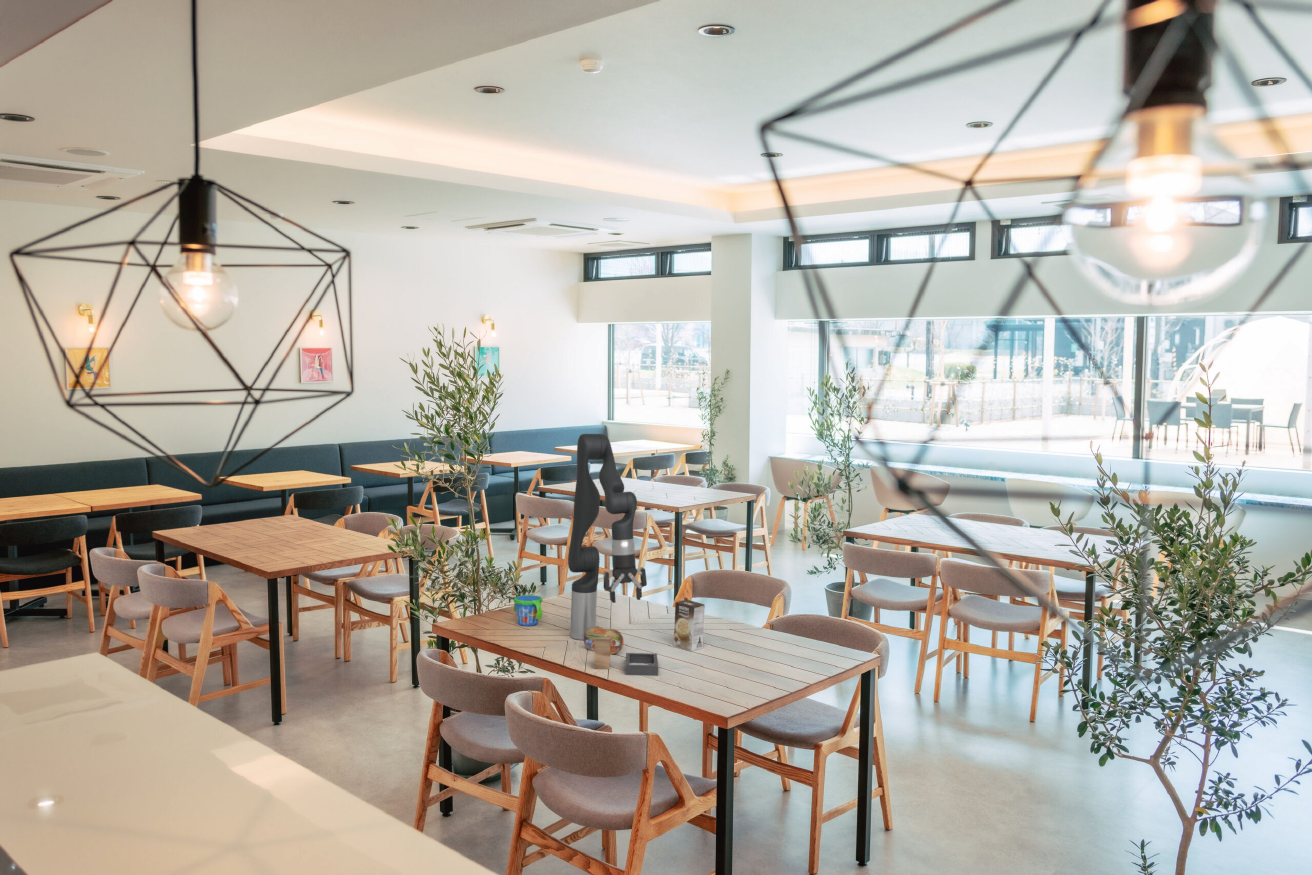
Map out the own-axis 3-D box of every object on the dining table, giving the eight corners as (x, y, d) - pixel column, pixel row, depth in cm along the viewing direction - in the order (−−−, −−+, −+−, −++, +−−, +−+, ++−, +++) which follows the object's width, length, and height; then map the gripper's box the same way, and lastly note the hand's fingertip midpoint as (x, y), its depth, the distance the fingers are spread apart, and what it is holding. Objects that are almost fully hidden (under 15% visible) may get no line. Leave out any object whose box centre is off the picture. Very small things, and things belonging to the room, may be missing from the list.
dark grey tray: (625, 661, 309) (626, 652, 309) (656, 662, 309) (656, 653, 309) (625, 674, 295) (625, 665, 295) (657, 675, 295) (658, 666, 295)
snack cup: (505, 621, 356) (506, 595, 355) (529, 617, 362) (530, 592, 361) (525, 630, 343) (525, 603, 343) (549, 626, 349) (550, 600, 349)
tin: (582, 649, 322) (583, 625, 321) (587, 647, 324) (588, 623, 324) (619, 656, 315) (620, 632, 314) (624, 654, 317) (625, 630, 317)
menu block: (594, 665, 303) (595, 637, 303) (609, 666, 303) (610, 637, 303) (593, 669, 300) (594, 640, 299) (609, 669, 300) (610, 640, 299)
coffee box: (672, 645, 329) (674, 601, 328) (684, 642, 334) (685, 598, 333) (692, 651, 323) (693, 606, 322) (703, 648, 328) (705, 603, 327)
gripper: (640, 548, 310) (643, 596, 311) (599, 552, 306) (602, 601, 306) (647, 551, 303) (649, 600, 304) (605, 555, 299) (608, 605, 299)
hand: (626, 600), depth 305 cm, fingers open, 8 cm apart
